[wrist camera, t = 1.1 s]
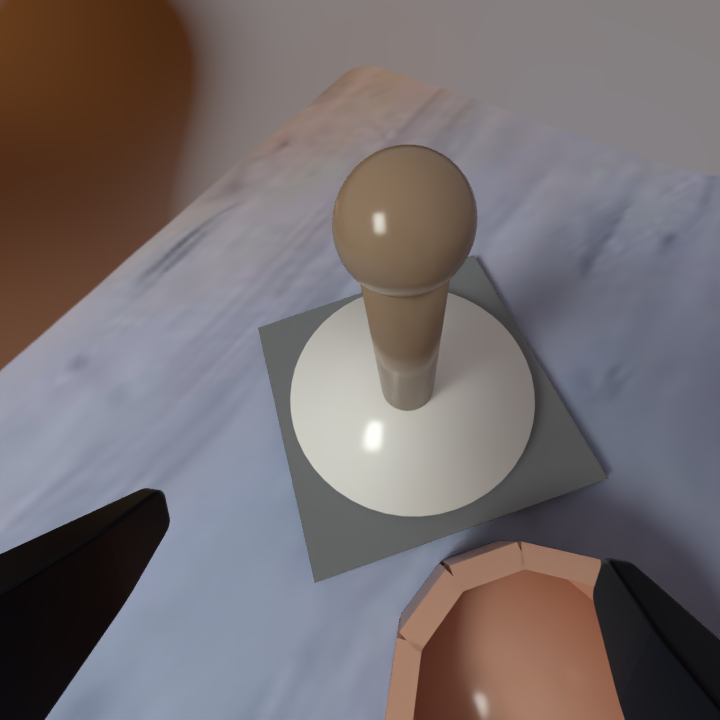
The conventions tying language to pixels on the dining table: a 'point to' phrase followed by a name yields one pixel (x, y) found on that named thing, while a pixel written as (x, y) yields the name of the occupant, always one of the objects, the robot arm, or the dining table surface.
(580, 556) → the bowl
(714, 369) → the dining table surface
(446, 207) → the peg stand
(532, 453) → the mat
